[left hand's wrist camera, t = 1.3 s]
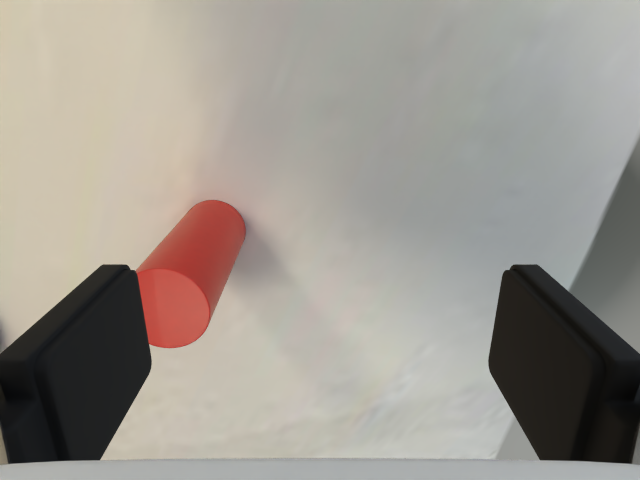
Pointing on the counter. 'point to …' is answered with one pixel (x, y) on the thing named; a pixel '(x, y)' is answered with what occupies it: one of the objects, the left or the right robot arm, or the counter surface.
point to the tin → (189, 273)
